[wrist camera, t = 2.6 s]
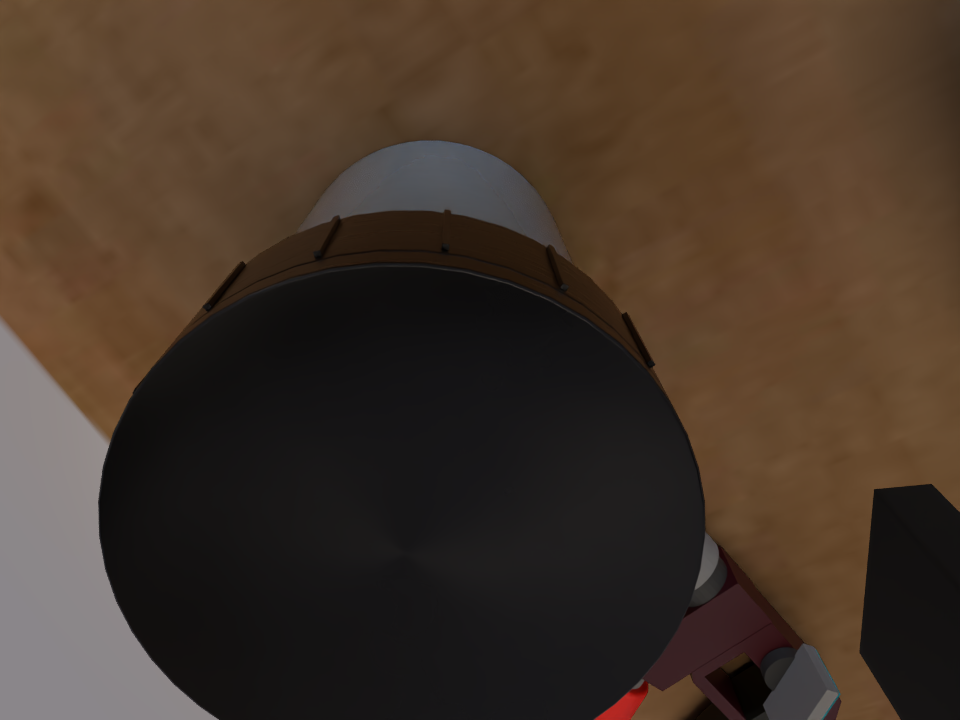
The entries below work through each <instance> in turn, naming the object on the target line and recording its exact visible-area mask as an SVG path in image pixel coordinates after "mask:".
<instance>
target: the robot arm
mask: <svg viewBox="0 0 960 720" xmlns="http://www.w3.org/2000/svg"><path fill="white" fill-rule="evenodd" d="M860 654H861V656H862V657H863V659H864V661H865V662H866V664H867V665H868V667H869V669H870V670H871V672H872V674H873V675H874V677H875V678H876V680H877V682H878V683H879V685H880V686H881V688H882V690H883V691H884V693H885V695H886V696H887V698H888V699H889V701H890V703H891V704H892V706H893V707H894V709H895V711H896V712H897V714H898V716H899V717H900V719H901V720H960V512H959V511H958V510H957V509H956V508H955V507H954V506H953V505H952V504H951V503H950V502H949V501H948V500H947V499H946V498H945V497H944V496H943V495H942V494H941V493H940V492H939V491H938V490H937V489H936V488H935V487H934V486H933V485H932V484H927V485H916V486H905V487H894V488H884V489H874V497H873V508H872V519H871V531H870V542H869V553H868V564H867V575H866V586H865V597H864V608H863V619H862V630H861V642H860Z"/></svg>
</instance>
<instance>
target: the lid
mask: <svg viewBox="0 0 960 720" xmlns="http://www.w3.org/2000/svg"><path fill="white" fill-rule="evenodd" d="M653 366H655V363H654V361H653V359H652V358H651V356H650V354H649V352H648V350H647V348H646V346H645V344H644V343H643V341H642V339H641V337H640V335H639V333H638V331H637V329H636V328H635V326H634V324H633V322H632V320H631V318H630V316H629V315H628V314H627V312H626V313H624V314H623V315H622V314H621V312H620V311H619V309H618V308H617V307H616V305H615V304H614V303H613V301H612V300H611V299H610V298H609V297H608V296H607V295H606V294H605V293H604V292H603V291H602V290H601V289H600V288H599V287H598V286H597V285H596V284H595V283H594V282H593V281H592V280H591V278H589V277H588V276H587V275H586V274H584V273H583V272H582V271H581V270H579V269H578V268H577V267H575V266H574V265H573V264H572V263H570V262H569V261H568V260H567V259H565V258H564V257H563V256H561V255H559V254H557V253H556V250H555V248H554V247H553V246H552V245H550V244H549V245H548V246H547V247H546V246H544V245H542V244H540V243H539V242H537V241H535V240H534V239H531V238H529V237H527V236H524V235H522V234H520V233H517V232H515V231H512V230H510V229H508V228H505V227H503V226H501V225H497V224H494V223H490V222H486V221H483V220H479V219H475V218H472V217H468V216H464V215H456V214H451V210H447V209H445V210H444V213H442V212H435V211H409V210H391V211H383V212H375V213H366V214H358V215H353V216H349V217H346V218H342V219H341V218H340V216H339V215H337V216H334V217H333V218H332V220H331V221H330V222H326V223H322V224H319V225H317V226H315V227H312V228H310V229H307V230H305V231H302V232H300V233H297V234H295V235H292V236H290V237H288V238H286V239H284V240H283V241H281V242H279V243H277V244H276V245H274V246H272V247H270V248H269V249H267V250H265V251H263V252H262V253H260V254H258V255H257V256H256V257H255V258H253V259H252V260H251V261H249V262H248V263H247V264H246V265H245V263H244V262H243V261H241V262H240V263H239V264H238V265H237V266H236V267H235V268H234V269H233V271H232V272H231V273H230V274H229V275H228V277H227V278H226V279H225V280H224V281H223V283H222V284H221V285H220V286H219V287H218V289H217V290H216V291H215V292H214V293H213V295H212V296H211V297H210V298H209V299H208V301H207V302H206V303H205V304H204V305H203V307H202V308H201V309H200V311H199V312H198V313H197V314H196V315H195V317H194V318H193V319H192V320H191V321H190V323H189V324H188V325H187V326H186V327H185V329H184V330H183V331H182V332H181V333H180V335H179V336H178V337H177V338H176V339H175V341H174V342H173V343H172V344H171V345H170V347H169V348H168V349H167V350H166V351H165V353H164V354H163V355H162V356H161V357H160V359H159V360H158V361H157V362H156V363H155V365H154V366H153V367H152V368H151V370H150V371H149V372H148V373H147V375H146V376H145V377H144V378H143V379H142V381H141V382H140V383H139V384H138V385H137V387H136V388H135V389H134V391H133V395H132V397H131V398H130V399H129V401H128V404H127V406H126V408H125V410H124V412H123V414H122V416H121V418H120V420H119V422H118V424H117V426H116V428H115V430H114V432H113V435H112V438H111V442H110V445H109V448H108V452H107V455H106V458H105V462H104V465H103V470H102V478H101V485H100V492H99V500H98V505H99V537H100V543H101V548H102V553H103V559H104V565H105V570H106V573H107V576H108V579H109V581H110V585H111V587H112V590H113V593H114V596H115V599H116V602H117V604H118V606H119V608H120V610H121V612H122V613H123V615H124V617H125V619H126V621H127V623H128V625H129V627H130V629H131V631H132V633H133V634H134V635H135V637H136V638H137V640H138V641H139V642H140V644H141V645H142V647H143V648H144V650H145V651H146V653H147V654H148V655H149V657H150V658H151V660H152V661H153V662H154V663H155V664H156V665H157V666H158V667H159V668H160V669H161V671H162V672H163V673H164V674H165V675H166V676H167V677H168V678H169V679H170V681H171V682H172V683H173V684H174V685H175V686H177V687H178V688H179V689H180V690H181V691H182V692H183V693H185V694H186V695H187V696H188V697H189V698H190V699H191V700H193V701H194V702H195V703H196V704H197V705H198V706H200V707H201V708H203V709H204V710H205V711H207V712H208V713H210V714H211V715H213V716H214V717H216V718H217V719H219V720H594V719H596V718H597V717H598V716H600V715H601V714H603V713H604V712H605V711H607V710H608V709H610V708H611V707H612V706H614V705H615V704H616V703H617V702H618V701H619V700H620V699H622V698H623V697H624V696H625V695H626V694H627V693H628V692H629V691H630V690H631V689H632V688H634V687H635V686H636V685H637V684H638V683H639V682H640V681H641V680H642V678H643V677H644V676H645V675H646V674H647V672H648V671H649V670H650V669H651V668H652V667H653V665H654V664H655V663H656V662H657V661H658V659H659V658H660V657H661V655H662V654H663V652H664V651H665V649H666V648H667V646H668V645H669V643H670V641H671V640H672V638H673V637H674V635H675V634H676V632H677V630H678V629H679V626H680V624H681V622H682V620H683V618H684V615H685V613H686V611H687V609H688V607H689V605H690V602H691V600H692V597H693V593H694V590H695V587H696V583H697V580H698V576H699V573H700V570H701V564H702V557H703V549H704V542H705V500H704V494H703V489H702V483H701V477H700V472H699V467H698V464H697V461H696V458H695V455H694V452H693V449H692V446H691V443H690V440H689V438H688V435H687V433H686V431H685V429H684V427H683V425H682V423H681V421H680V419H679V417H678V415H677V413H676V411H675V410H674V408H673V406H672V404H671V402H670V400H669V398H668V396H667V394H666V392H665V390H664V389H663V387H662V385H661V383H660V381H659V379H658V377H657V375H656V373H655V371H654V369H653Z"/></svg>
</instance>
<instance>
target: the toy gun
mask: <svg viewBox="0 0 960 720" xmlns="http://www.w3.org/2000/svg"><path fill="white" fill-rule="evenodd" d="M743 652H745V653H746V654H747V655H748V657H749V658H750V659H751V660H752V661H753V662H754V663H755V664H754V665H753V666H751V667H749V668H748V669H746V670H745V671H743V672H741V673H740V674H738V675H737V676H735V677H733V678H732V679H730V678H729V677H728V676H727V675H726V674H725V673H724V672H723V670H722V669H721V668H720V667H721V666H722V665H724V664H725V663H727V662H729V661H730V660H732V659H733V658H735V657H737V656H738V655H740V654H741V653H743ZM689 674H691V677H692V680H693V683H694V684H695V685H696V686H697V687H698V688H699V689H700V690H701V691H702V692H703V693H704V694H705V695H706V696H707V697H708V698H709V699H710V700H711V701H712V703H711V704H710V705H709V706H708V707H707V708H706V709H705V710H704V711H703V712H702V713H701V714H700V715H699V716H698V717H697V718H696V719H695V720H836V717H837V713H838V710H839V707H840V704H841V700H840V698H839V695H840V692H839V690H838V689H837V687H836V685H835V683H834V681H833V679H832V678H831V676H830V674H829V672H828V670H827V669H826V667H825V665H824V663H823V661H822V659H821V658H820V656H819V654H818V652H817V650H815V648H814V647H813V646H810V645H807V644H805V643H804V642H803V641H802V640H801V639H800V638H799V637H798V635H797V634H796V633H795V632H794V631H793V630H792V629H791V628H790V626H789V625H788V624H787V623H786V622H785V621H784V620H783V619H782V617H781V616H780V615H779V614H778V613H777V612H776V611H775V609H774V608H773V607H772V606H771V605H770V604H769V603H768V602H767V600H766V599H765V598H764V597H763V596H762V595H761V594H760V592H759V591H758V590H757V589H756V588H755V586H754V584H753V582H752V581H751V580H750V579H749V578H748V577H747V576H746V575H745V573H744V572H743V571H742V570H741V569H740V568H739V567H738V565H737V564H736V563H735V562H734V561H733V560H732V559H731V558H730V556H729V555H728V554H727V553H726V552H725V551H724V550H723V548H722V547H721V546H719V547H718V546H717V545H716V543H715V542H714V541H713V540H712V538H711V537H710V536H709V535H708V534H707V533H706V532H705V542H704V549H703V557H702V564H701V570H700V573H699V576H698V580H697V583H696V587H695V590H694V593H693V597H692V600H691V602H690V605H689V607H688V609H687V611H686V613H685V615H684V618H683V620H682V622H681V624H680V626H679V629H678V630H677V632H676V634H675V635H674V637H673V638H672V640H671V641H670V643H669V645H668V646H667V648H666V649H665V651H664V652H663V654H662V655H661V657H660V658H659V659H658V661H657V662H656V663H655V664H654V665H653V667H652V668H651V669H650V670H649V671H648V672H647V674H646V675H645V676H644V677H643V678H642V680H641V681H640V682H639V683H638V684H637V685H636V686H635V687H634V688H632V689H631V690H630V691H629V692H628V693H627V694H626V695H625V696H624V697H623V698H622V699H620V700H619V701H618V702H617V703H616V704H615V705H614V706H612V707H611V708H610V709H608V710H607V711H605V712H604V713H603V714H601V715H600V716H598V717H597V718H596V719H594V720H630V719H631V718H632V716H633V715H634V713H635V712H636V710H637V709H638V707H639V706H640V704H641V703H642V701H643V699H644V698H645V696H646V695H647V693H648V683H650V684H651V685H653V686H655V687H656V688H658V689H660V690H661V691H664V690H665V689H667V688H668V687H670V686H672V685H673V684H675V683H676V682H678V681H679V680H681V679H683V678H684V677H686V676H687V675H689Z"/></svg>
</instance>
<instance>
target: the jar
mask: <svg viewBox="0 0 960 720" xmlns="http://www.w3.org/2000/svg"><path fill="white" fill-rule="evenodd" d="M445 209H447V210H451V214H456V215H464V216H468V217H472V218H475V219H479V220H483V221H486V222H490V223H494V224H497V225H501V226H503V227H505V228H508V229H510V230H512V231H515V232H517V233H520V234H522V235H524V236H527V237H529V238H531V239H534V240H535V241H537V242H539V243H540V244H542V245H544V246H546V247H547V246H548V245H549V244H550V245H552V246H553V247H554V248H555V250H556V253H557V254H559V255H561V256H563V257H564V258H565V259H567V260H568V261H569V262H570V263H572V261H571V258H570V256H569V254H568V251H567V249H566V247H565V244H564V242H563V239H562V237H561V235H560V232H559V230H558V228H557V225H556V223H555V221H554V218H553V217H552V215H551V213H550V211H549V209H548V207H547V205H546V203H545V202H544V201H543V199H542V198H541V197H540V195H539V194H538V192H537V191H536V190H535V188H534V187H533V186H532V185H531V184H530V183H529V182H528V181H527V180H526V179H525V178H524V177H523V176H522V175H521V174H519V173H518V172H517V171H516V170H515V169H513V168H512V167H511V166H510V165H508V164H506V163H505V162H503V161H501V160H500V159H498V158H496V157H495V156H493V155H491V154H488V153H486V152H484V151H482V150H479V149H477V148H474V147H470V146H467V145H463V144H460V143H453V142H446V141H424V140H422V141H414V142H406V143H401V144H397V145H394V146H390V147H386V148H384V149H381V150H379V151H377V152H374V153H372V154H369V155H368V156H366V157H364V158H363V159H361V160H359V161H357V162H356V163H354V164H353V165H352V166H350V167H349V168H348V169H346V170H345V171H344V172H343V173H341V174H340V175H339V176H338V177H337V178H336V179H335V180H334V181H333V182H332V184H331V185H330V186H329V187H328V188H327V189H326V191H325V192H324V193H323V195H322V196H321V198H320V199H319V200H318V202H317V203H316V205H315V206H314V207H313V209H312V210H311V212H310V213H309V215H308V216H307V217H306V219H305V220H304V222H303V223H302V225H301V226H300V227H299V229H298V230H297V232H296V233H295V234H297V233H300V232H302V231H305V230H307V229H310V228H312V227H315V226H317V225H319V224H322V223H326V222H330V221H331V220H332V218H333V217H334V216H337V215H339V216H340V218H341V219H342V218H346V217H349V216H353V215H358V214H366V213H375V212H383V211H391V210H409V211H435V212H442V213H444V210H445ZM572 264H573V263H572Z"/></svg>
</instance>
